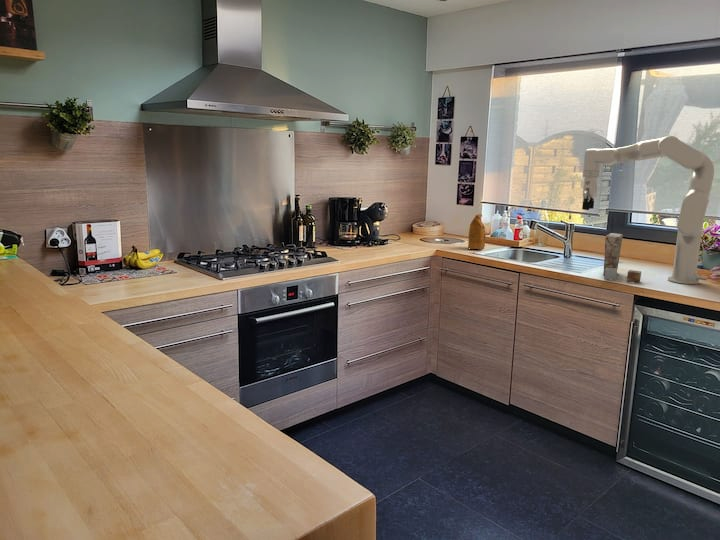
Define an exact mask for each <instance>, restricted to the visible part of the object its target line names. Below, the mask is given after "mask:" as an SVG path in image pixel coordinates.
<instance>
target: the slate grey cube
mask: <svg viewBox="0 0 720 540" xmlns="http://www.w3.org/2000/svg"><path fill="white" fill-rule="evenodd" d="M617 275H618V269H617V268H605V275H604V278H603V279H611V280H610V281H614V280H616V281H617Z"/></svg>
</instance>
